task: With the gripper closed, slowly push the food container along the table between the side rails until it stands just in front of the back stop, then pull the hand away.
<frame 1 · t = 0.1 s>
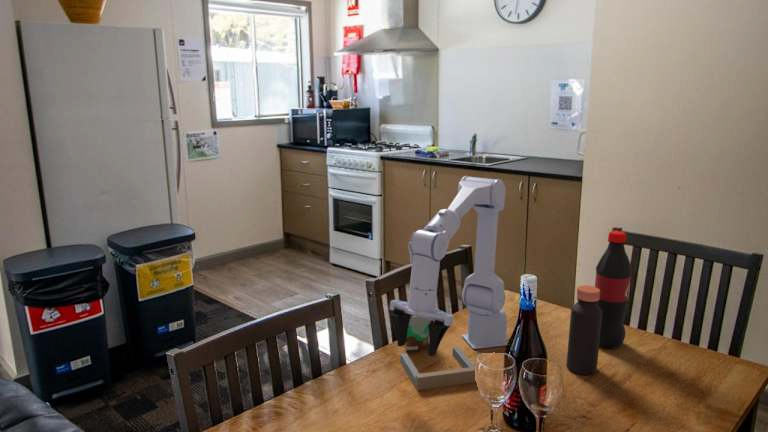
hand: (416, 350, 117), 11 cm above the table, tool pointing down, fingers open, 7 cm apart
dark grey water bottle: (581, 369, 131), on the table
food container: (420, 345, 143), on the table
cola bottle: (606, 344, 144), on the table
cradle: (438, 369, 131), on the table
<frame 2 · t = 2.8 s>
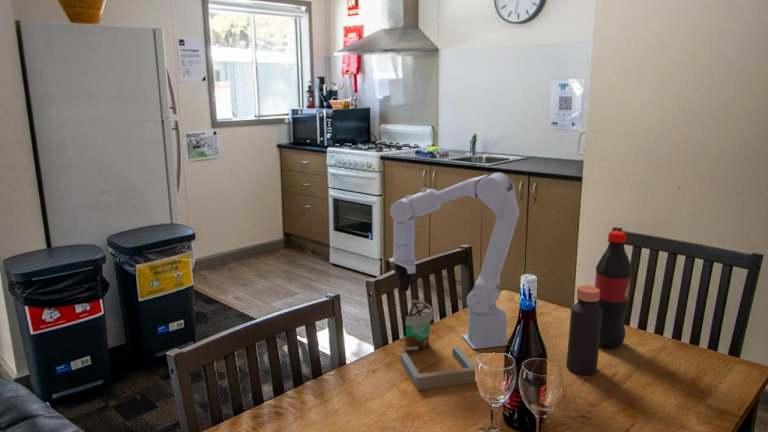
hand: (403, 290, 152), 10 cm above the table, tool pointing down, fingers closed
nothing on the table moved.
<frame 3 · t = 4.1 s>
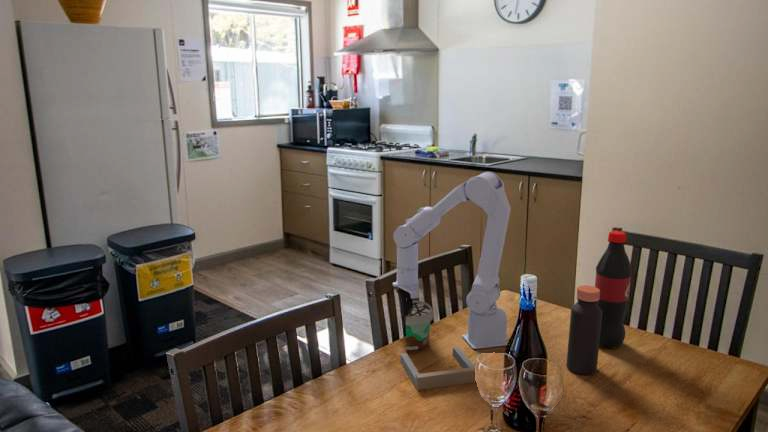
hand: (406, 313, 154), 3 cm above the table, tool pointing down, fingers closed
nothing on the table moved.
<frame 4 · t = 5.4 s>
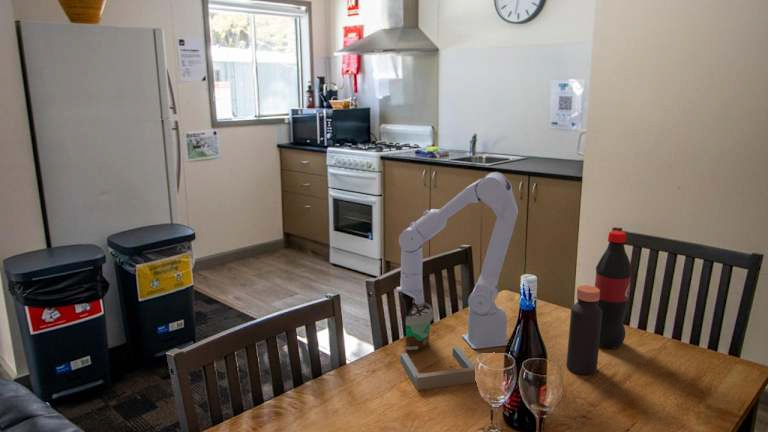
hand: (410, 319, 150), 3 cm above the table, tool pointing down, fingers closed
food container: (420, 345, 143), on the table, touching gripper
everything else where it was.
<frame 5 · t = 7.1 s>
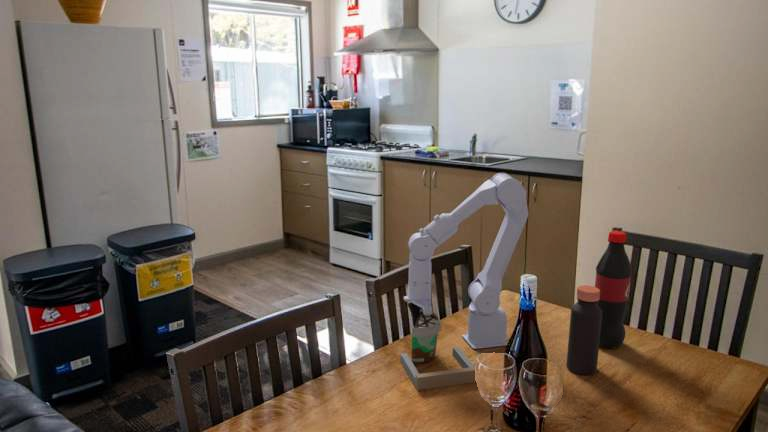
hand: (418, 329, 143), 4 cm above the table, tool pointing down, fingers closed
food container: (427, 357, 137), on the table, touching gripper
everything else where it was.
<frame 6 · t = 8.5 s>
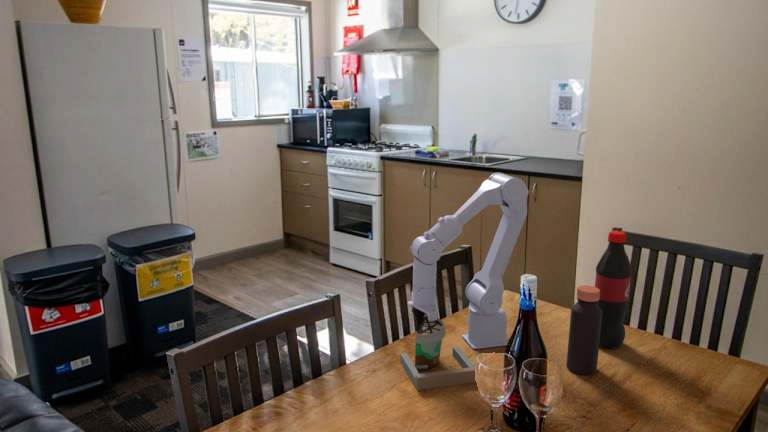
hand: (422, 335, 140), 4 cm above the table, tool pointing down, fingers closed
food container: (430, 363, 134), on the table, touching gripper
everything else where it was.
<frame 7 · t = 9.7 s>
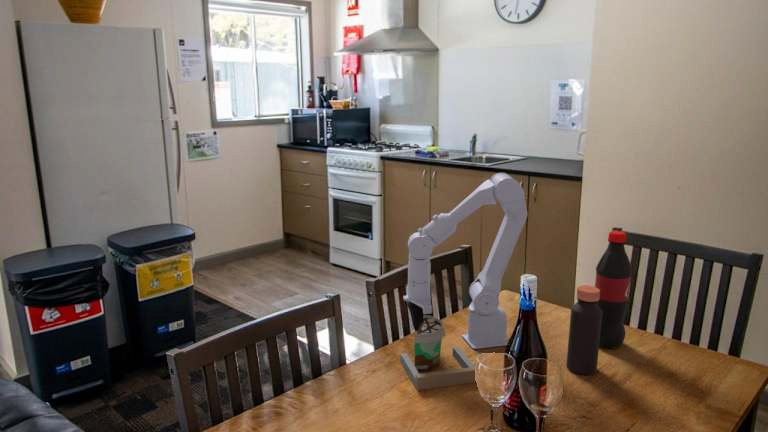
hand: (418, 329, 144), 3 cm above the table, tool pointing down, fingers closed
food container: (431, 364, 133), on the table
everything else where it was.
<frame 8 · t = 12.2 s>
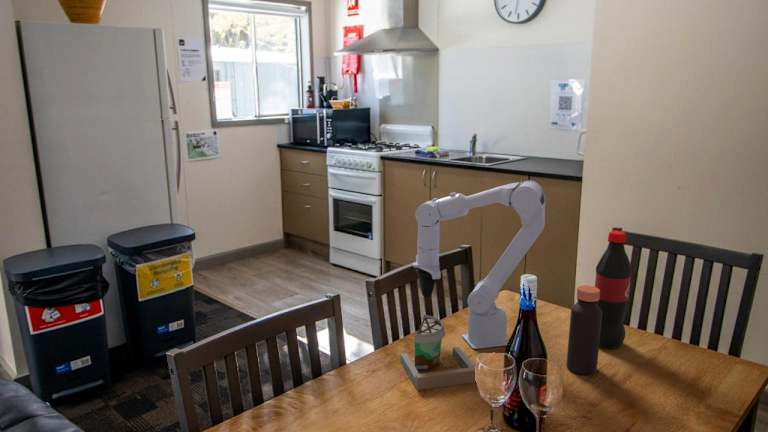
hand: (426, 295, 148), 10 cm above the table, tool pointing down, fingers closed
nothing on the table moved.
at the end: food container 1.4 cm from the target spot on the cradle, point 0.0 cm above the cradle's base; food container tilted 0°; the gripper is holding nothing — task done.
